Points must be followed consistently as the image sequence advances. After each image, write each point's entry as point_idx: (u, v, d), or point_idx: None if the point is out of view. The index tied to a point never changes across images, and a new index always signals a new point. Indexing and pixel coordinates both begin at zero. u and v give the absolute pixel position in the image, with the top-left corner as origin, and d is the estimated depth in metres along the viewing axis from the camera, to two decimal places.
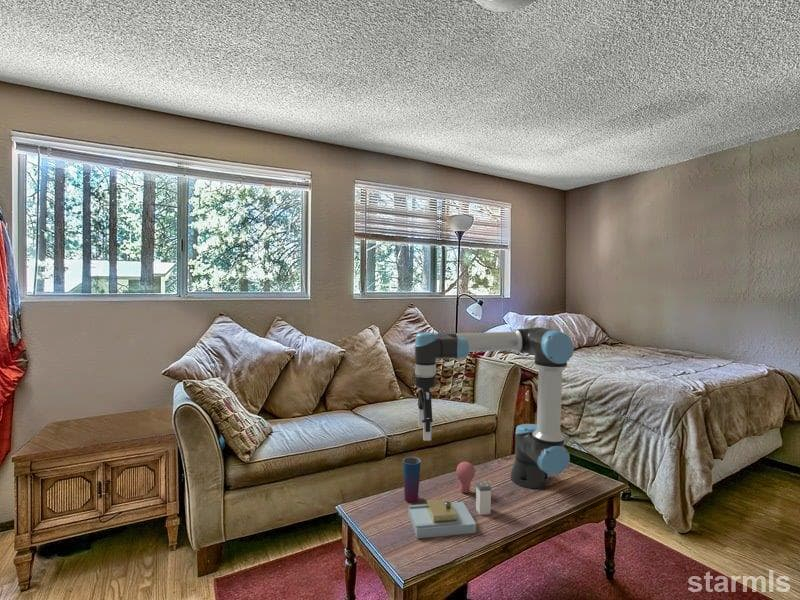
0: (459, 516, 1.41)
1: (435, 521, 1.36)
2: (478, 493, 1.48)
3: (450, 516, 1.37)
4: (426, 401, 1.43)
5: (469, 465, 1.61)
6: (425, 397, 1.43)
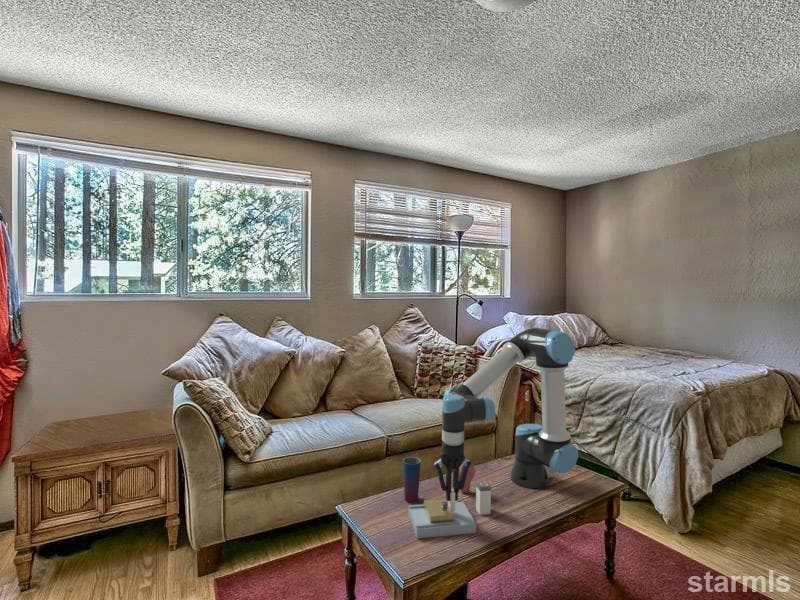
0: (459, 516, 1.41)
1: (432, 521, 1.36)
2: (478, 493, 1.48)
3: (447, 516, 1.36)
4: (437, 470, 1.41)
5: None
6: None
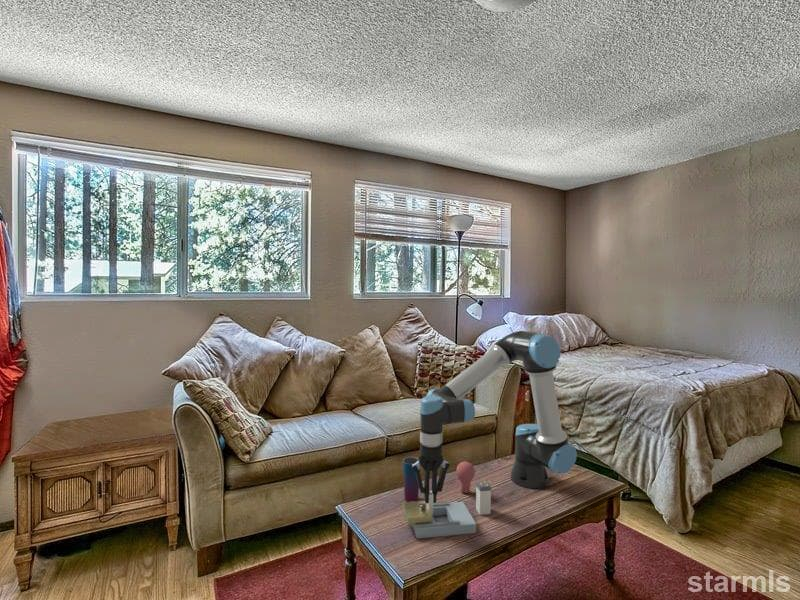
0: (459, 516, 1.41)
1: (409, 523, 1.34)
2: (478, 493, 1.48)
3: (424, 518, 1.35)
4: (415, 471, 1.40)
5: (469, 465, 1.61)
6: None
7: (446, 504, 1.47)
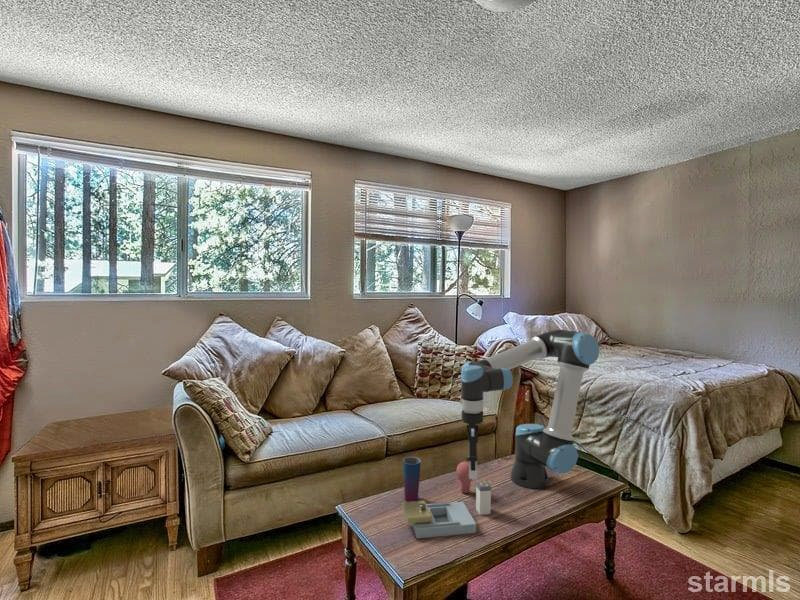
0: (459, 516, 1.41)
1: (409, 523, 1.34)
2: (478, 493, 1.48)
3: (424, 518, 1.35)
4: (471, 439, 1.39)
5: None
6: (470, 434, 1.39)
7: (446, 504, 1.47)
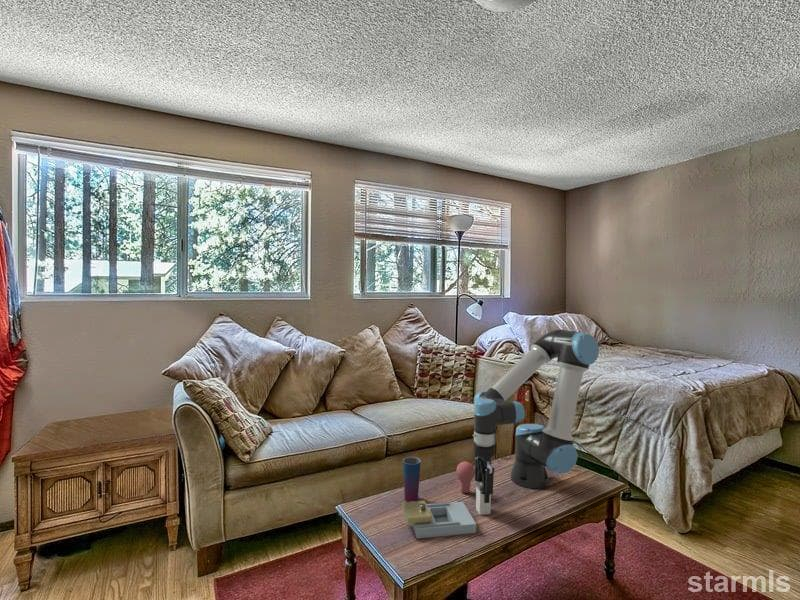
0: (459, 516, 1.41)
1: (409, 523, 1.34)
2: (478, 493, 1.48)
3: (424, 518, 1.35)
4: (488, 476, 1.43)
5: (469, 465, 1.61)
6: (488, 472, 1.42)
7: (446, 504, 1.47)
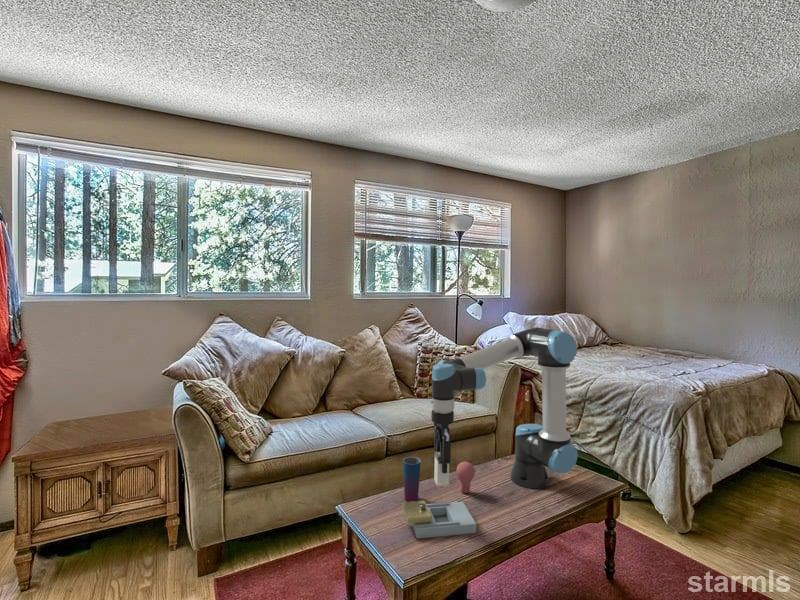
0: (459, 516, 1.41)
1: (409, 523, 1.34)
2: (436, 463, 1.40)
3: (424, 518, 1.35)
4: (445, 443, 1.34)
5: (469, 465, 1.61)
6: (445, 440, 1.34)
7: (446, 504, 1.47)
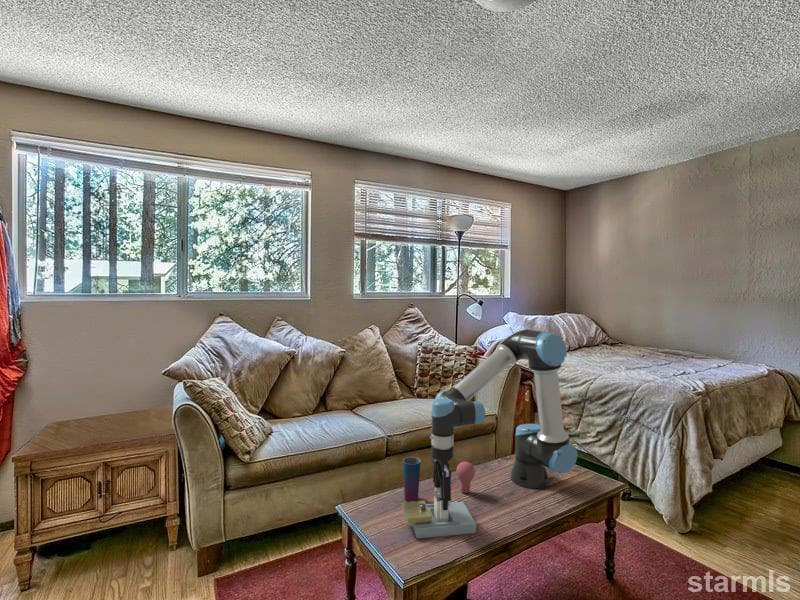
0: (459, 516, 1.41)
1: (409, 523, 1.34)
2: (435, 503, 1.41)
3: (424, 518, 1.35)
4: (445, 480, 1.34)
5: (469, 465, 1.61)
6: (444, 476, 1.34)
7: None
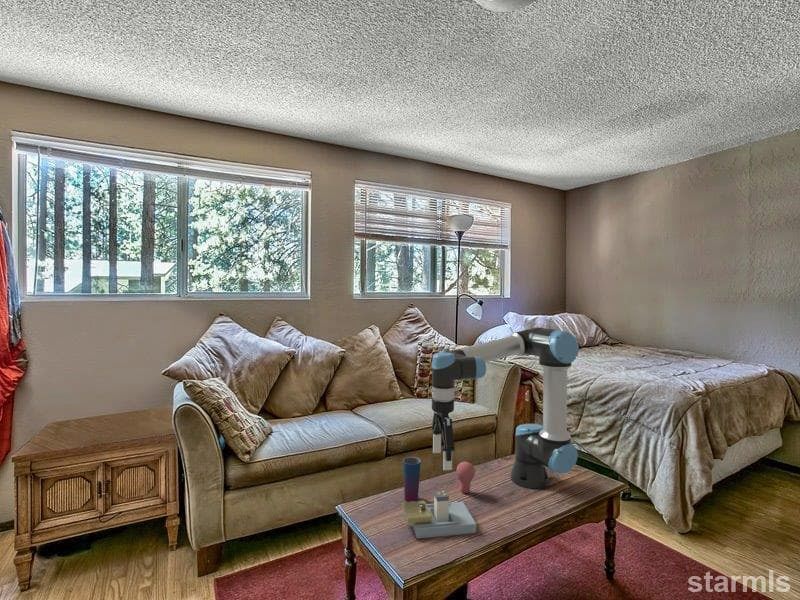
0: (459, 516, 1.41)
1: (409, 523, 1.34)
2: (435, 503, 1.41)
3: (424, 518, 1.35)
4: (447, 428, 1.33)
5: (469, 465, 1.61)
6: (446, 423, 1.33)
7: None
